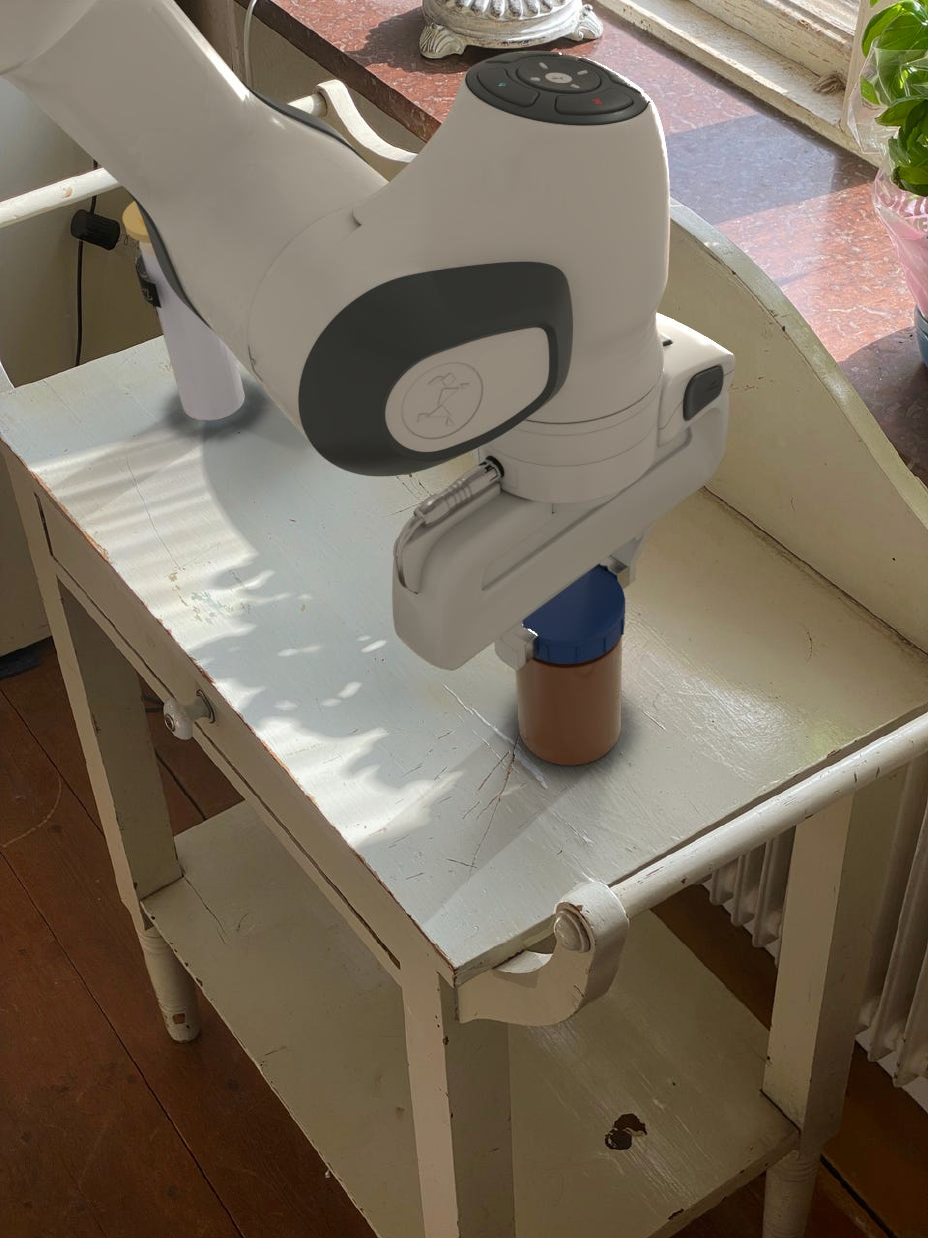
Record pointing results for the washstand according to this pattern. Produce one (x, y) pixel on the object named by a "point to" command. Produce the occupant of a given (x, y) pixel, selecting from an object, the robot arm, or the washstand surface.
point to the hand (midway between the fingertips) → (567, 619)
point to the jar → (570, 707)
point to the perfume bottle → (187, 338)
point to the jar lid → (580, 619)
